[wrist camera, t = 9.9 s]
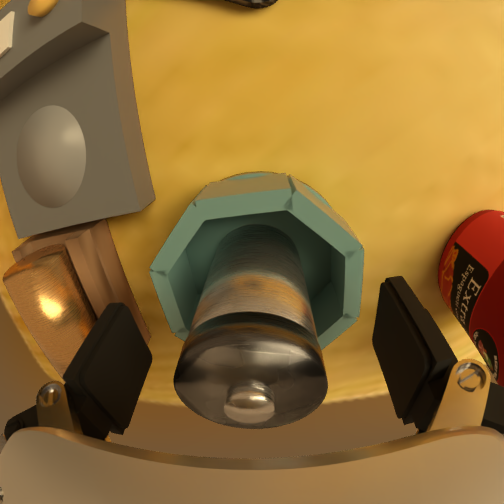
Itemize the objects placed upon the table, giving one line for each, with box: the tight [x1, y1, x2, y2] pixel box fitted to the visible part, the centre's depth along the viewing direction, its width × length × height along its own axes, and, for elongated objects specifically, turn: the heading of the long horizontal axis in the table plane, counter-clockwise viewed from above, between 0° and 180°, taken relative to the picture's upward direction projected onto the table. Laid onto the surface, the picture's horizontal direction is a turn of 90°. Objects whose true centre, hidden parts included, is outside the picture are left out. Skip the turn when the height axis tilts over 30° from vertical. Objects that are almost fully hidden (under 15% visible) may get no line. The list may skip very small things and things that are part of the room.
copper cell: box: [3, 244, 97, 383], centre depth 14 cm, size 9×4×4 cm, turn 8°
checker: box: [0, 0, 155, 239], centre depth 9 cm, size 14×10×5 cm
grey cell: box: [174, 224, 328, 429], centre depth 11 cm, size 4×4×9 cm
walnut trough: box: [12, 218, 151, 344], centre depth 16 cm, size 9×7×3 cm
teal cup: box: [149, 171, 364, 350], centre depth 14 cm, size 9×9×4 cm
